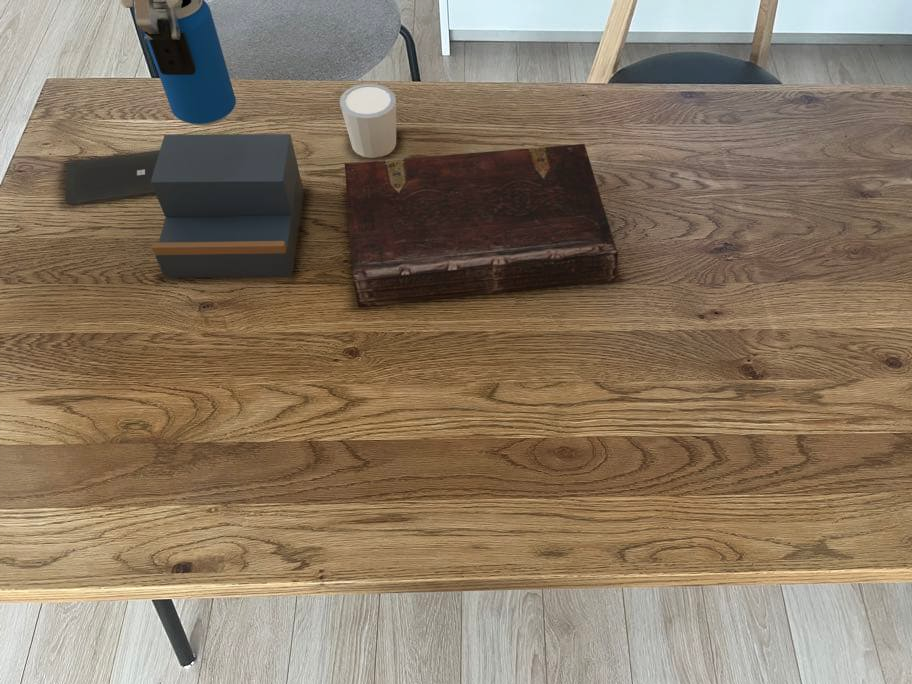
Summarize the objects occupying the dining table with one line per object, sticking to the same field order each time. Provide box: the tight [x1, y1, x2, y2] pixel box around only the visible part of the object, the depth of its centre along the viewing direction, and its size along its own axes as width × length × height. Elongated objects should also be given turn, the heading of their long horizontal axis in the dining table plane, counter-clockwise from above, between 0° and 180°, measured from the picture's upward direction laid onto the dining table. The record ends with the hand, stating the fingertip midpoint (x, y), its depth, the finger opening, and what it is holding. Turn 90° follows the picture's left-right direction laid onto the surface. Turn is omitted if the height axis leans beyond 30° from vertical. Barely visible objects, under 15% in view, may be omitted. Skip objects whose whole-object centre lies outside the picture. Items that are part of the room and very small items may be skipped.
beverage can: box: [142, 0, 237, 127], centre depth 86 cm, size 6×6×12 cm
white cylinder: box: [339, 83, 397, 159], centre depth 109 cm, size 7×7×7 cm
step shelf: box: [151, 133, 305, 279], centre depth 98 cm, size 14×14×9 cm
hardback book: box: [344, 143, 619, 308], centre depth 101 cm, size 29×19×5 cm, turn 100°
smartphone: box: [64, 150, 160, 206], centre depth 106 cm, size 8×15×1 cm, turn 105°
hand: (185, 49), depth 85 cm, fingers closed on beverage can, 6 cm apart
